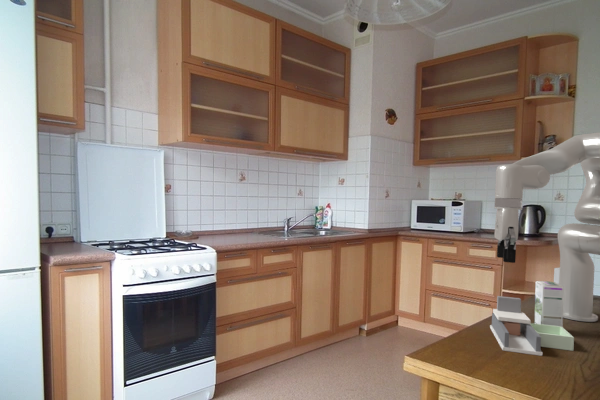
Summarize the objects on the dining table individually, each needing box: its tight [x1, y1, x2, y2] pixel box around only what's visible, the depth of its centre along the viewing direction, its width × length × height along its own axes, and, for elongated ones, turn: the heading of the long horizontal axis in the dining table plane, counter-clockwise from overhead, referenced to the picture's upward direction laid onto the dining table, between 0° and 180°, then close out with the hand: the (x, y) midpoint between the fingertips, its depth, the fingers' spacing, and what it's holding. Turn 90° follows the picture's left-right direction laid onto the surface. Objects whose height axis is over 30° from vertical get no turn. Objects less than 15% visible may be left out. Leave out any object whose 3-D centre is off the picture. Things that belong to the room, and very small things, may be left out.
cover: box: [492, 295, 532, 324], centre depth 110 cm, size 8×8×5 cm
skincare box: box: [553, 267, 560, 284], centre depth 154 cm, size 6×4×12 cm
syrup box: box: [533, 280, 564, 328], centre depth 114 cm, size 6×6×14 cm
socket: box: [530, 322, 575, 352], centre depth 105 cm, size 9×9×4 cm
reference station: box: [489, 312, 543, 356], centre depth 106 cm, size 18×9×5 cm, turn 163°
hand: (505, 259), depth 119 cm, fingers open, 8 cm apart
